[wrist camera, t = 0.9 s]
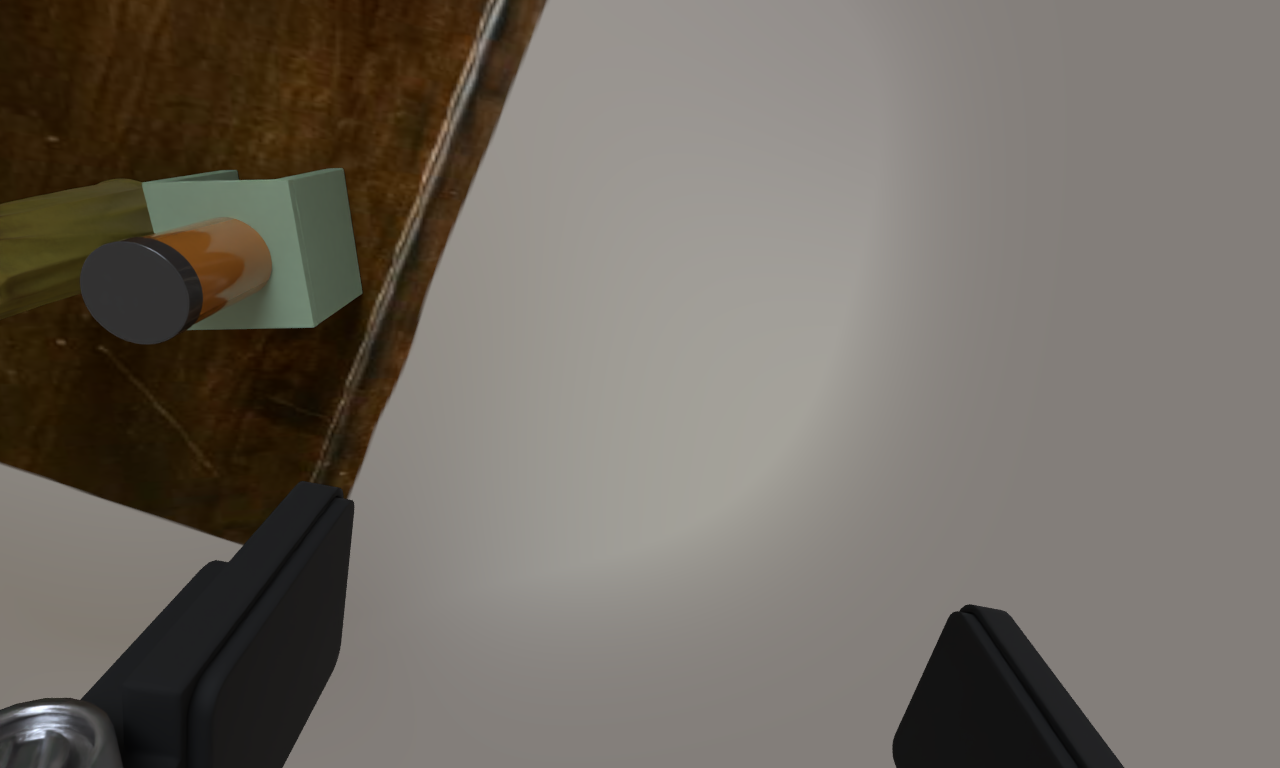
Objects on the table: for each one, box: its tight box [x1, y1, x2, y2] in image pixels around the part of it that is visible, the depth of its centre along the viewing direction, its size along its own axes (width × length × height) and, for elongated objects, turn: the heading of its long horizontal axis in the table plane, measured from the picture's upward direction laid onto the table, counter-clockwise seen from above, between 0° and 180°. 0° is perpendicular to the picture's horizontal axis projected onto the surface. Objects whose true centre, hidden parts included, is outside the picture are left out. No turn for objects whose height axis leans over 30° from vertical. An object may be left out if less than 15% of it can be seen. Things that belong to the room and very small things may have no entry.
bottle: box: [80, 217, 272, 344], centre depth 35 cm, size 5×5×8 cm
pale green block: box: [142, 168, 362, 330], centre depth 43 cm, size 8×8×8 cm
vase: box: [0, 179, 154, 320], centre depth 40 cm, size 6×6×14 cm
